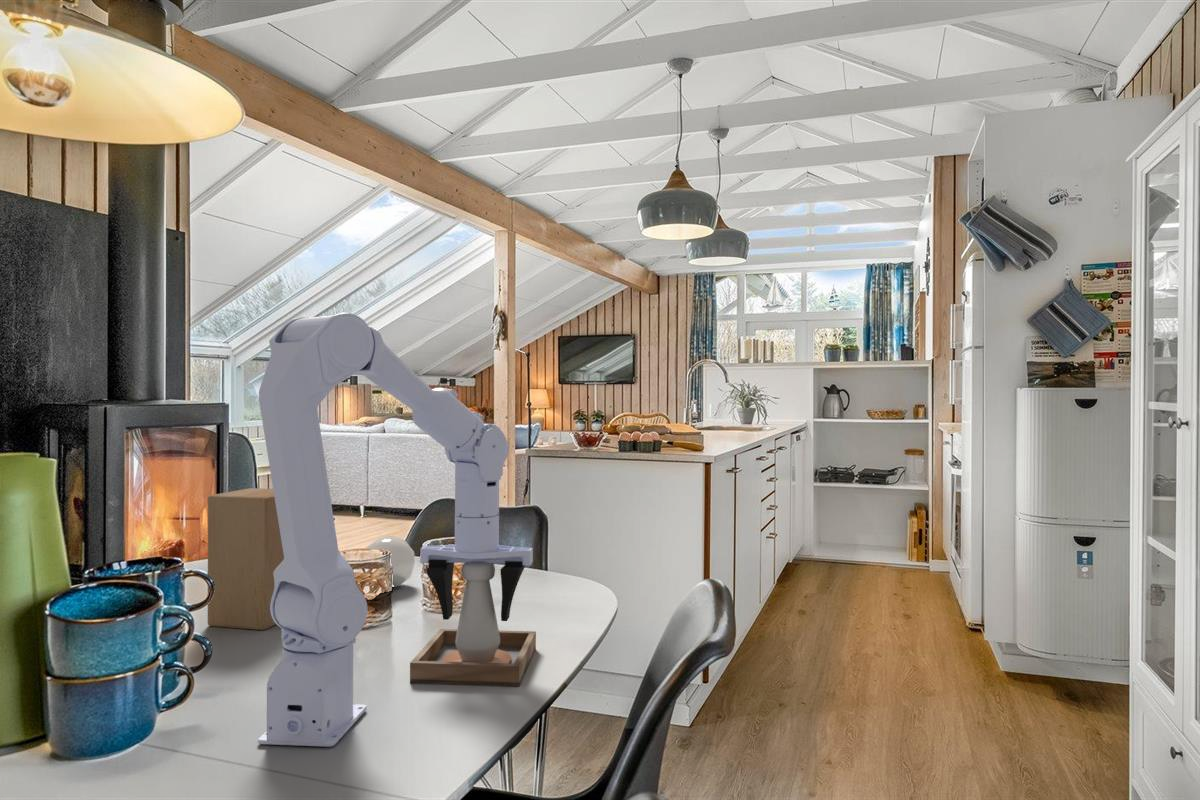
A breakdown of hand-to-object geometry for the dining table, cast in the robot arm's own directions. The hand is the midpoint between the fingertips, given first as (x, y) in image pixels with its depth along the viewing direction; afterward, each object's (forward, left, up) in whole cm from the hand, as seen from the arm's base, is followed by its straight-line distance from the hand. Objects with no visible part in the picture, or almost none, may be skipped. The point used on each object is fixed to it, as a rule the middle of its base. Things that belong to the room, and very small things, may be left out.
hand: (476, 618), depth 100 cm
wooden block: (+17, +39, -6) cm, 43 cm away
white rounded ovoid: (+36, +25, -7) cm, 44 cm away
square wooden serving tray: (0, 0, -6) cm, 6 cm away
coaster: (0, 0, -6) cm, 6 cm away
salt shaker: (0, 0, -6) cm, 6 cm away
